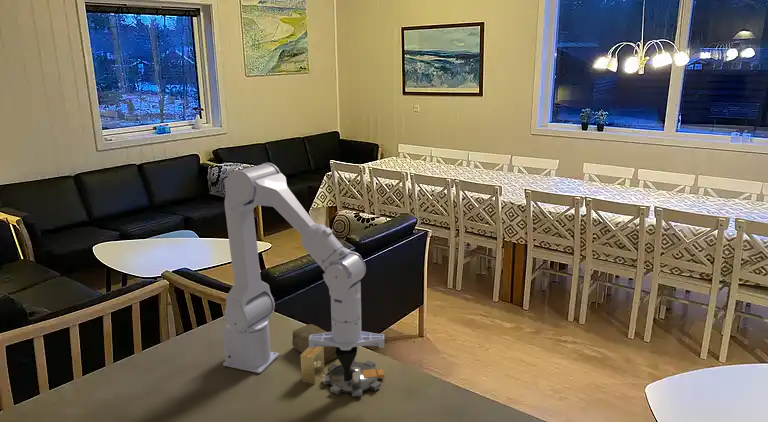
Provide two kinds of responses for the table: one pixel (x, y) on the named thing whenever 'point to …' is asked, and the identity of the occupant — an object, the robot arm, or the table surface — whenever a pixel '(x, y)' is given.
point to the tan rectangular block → (312, 364)
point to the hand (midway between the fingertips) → (347, 378)
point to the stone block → (302, 341)
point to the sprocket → (354, 378)
